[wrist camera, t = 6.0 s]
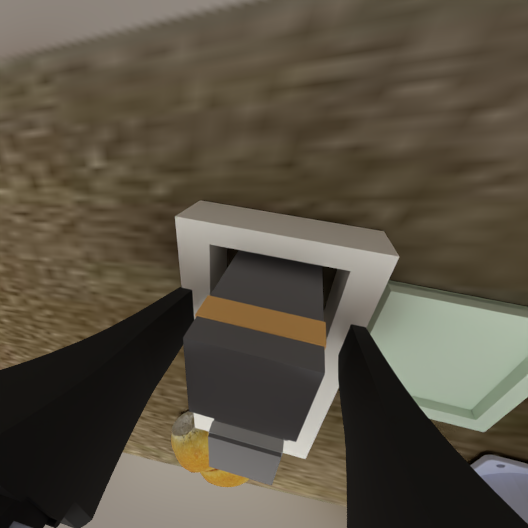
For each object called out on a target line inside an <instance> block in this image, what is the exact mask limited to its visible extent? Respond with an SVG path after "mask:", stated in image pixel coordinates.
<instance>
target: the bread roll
mask: <svg viewBox="0 0 528 528" xmlns="http://www.w3.org/2000/svg"><path fill="white" fill-rule="evenodd" d="M208 435H209V431H205V430H202V429H198V428H195V423H194V413H192V412H189V411H188V412H185V413H184V414H182V415H181V416H180V417H179V418H178V419H177V420H176V421H175V423H174V425H173V427H172V436H171V444H172V447H173V450H174V453H175V455H176V457H177V459H178V461H179V463H180V464H181V465H182V467H184V468H185V469H187V470H189V471H190V472H200V473H201V474H202V476H203V477H204V478H205V479H206V480H207V481H208V482H209V483H211V484H214V485H217V486H221V487H234V486H238V485H240V484H243V483H245V482H246V481H248V480H249V478H245V477H242V476H239V475H235V474H232V473H229V472H226V471H222V470H219V469H216V468H212V467H209V448H208Z"/></svg>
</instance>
